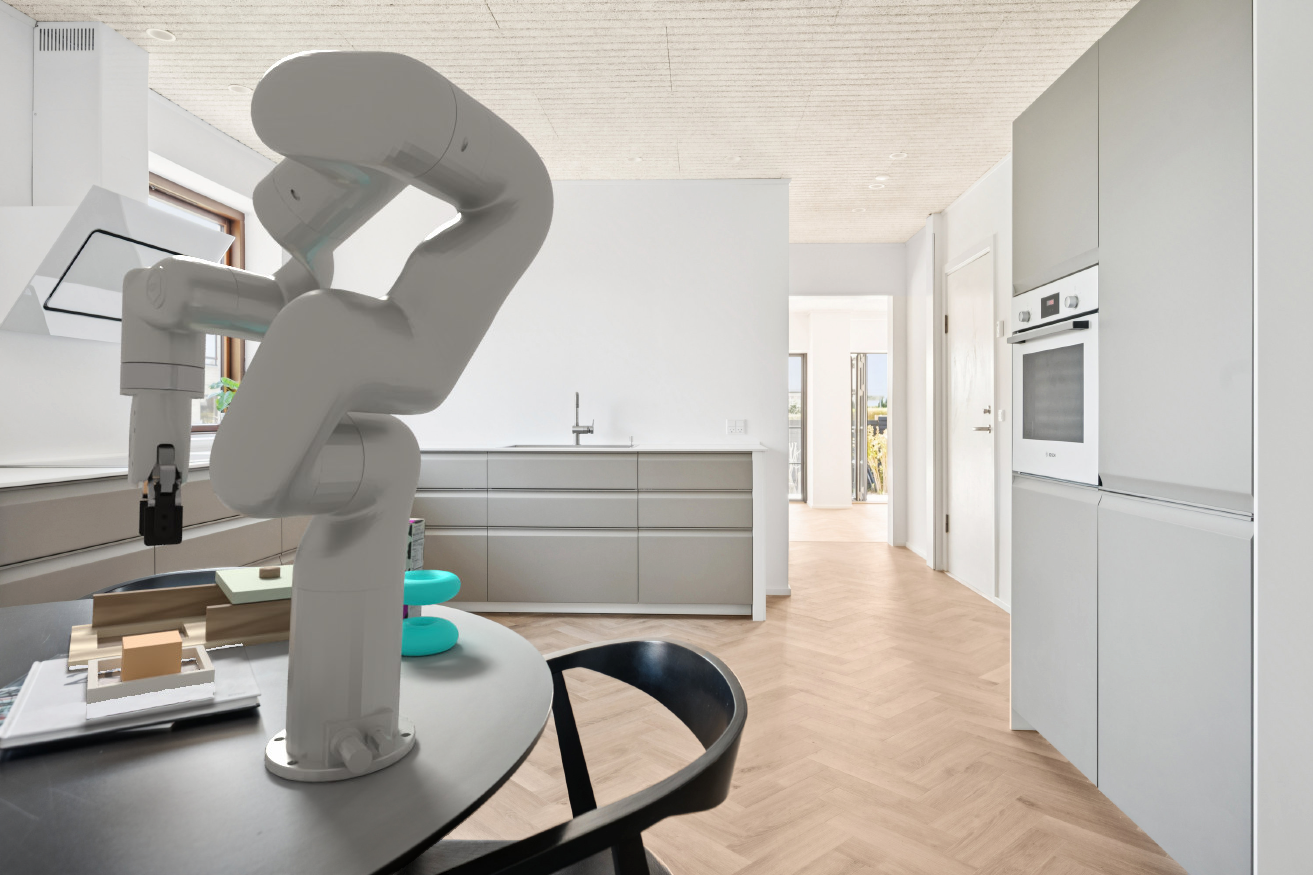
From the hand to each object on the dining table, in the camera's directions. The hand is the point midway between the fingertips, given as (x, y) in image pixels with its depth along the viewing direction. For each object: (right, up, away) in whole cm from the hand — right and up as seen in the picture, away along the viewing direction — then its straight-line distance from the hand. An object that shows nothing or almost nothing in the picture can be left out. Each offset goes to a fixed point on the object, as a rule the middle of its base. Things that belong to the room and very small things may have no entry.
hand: (159, 539), depth 74 cm
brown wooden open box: (-6, -17, +17) cm, 24 cm away
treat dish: (-1, -17, 0) cm, 17 cm away
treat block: (-1, -16, 0) cm, 16 cm away
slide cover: (0, -10, +21) cm, 24 cm away
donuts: (+22, -18, +19) cm, 34 cm away
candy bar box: (+12, -18, +29) cm, 36 cm away
